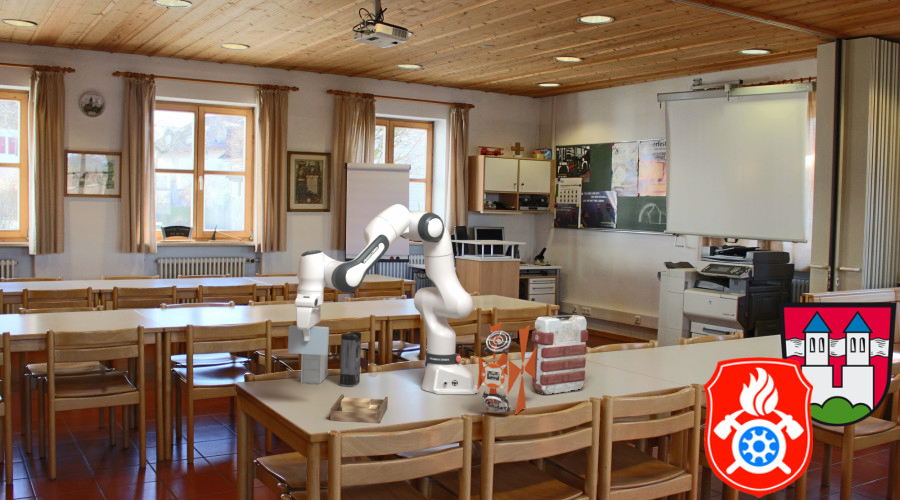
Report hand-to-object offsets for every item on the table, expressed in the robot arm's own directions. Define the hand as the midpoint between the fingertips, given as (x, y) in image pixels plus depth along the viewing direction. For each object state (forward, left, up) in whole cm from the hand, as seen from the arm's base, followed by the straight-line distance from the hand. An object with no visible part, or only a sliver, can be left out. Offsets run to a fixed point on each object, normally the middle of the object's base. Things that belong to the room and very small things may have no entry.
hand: (308, 339), depth 266 cm
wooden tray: (-19, +3, -24) cm, 30 cm away
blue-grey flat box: (0, 0, -5) cm, 5 cm away
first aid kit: (-89, -46, -24) cm, 103 cm away
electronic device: (-8, -40, -24) cm, 47 cm away
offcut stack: (-19, +7, -24) cm, 31 cm away
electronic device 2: (-68, -12, -24) cm, 73 cm away
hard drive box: (+7, -45, -24) cm, 52 cm away
